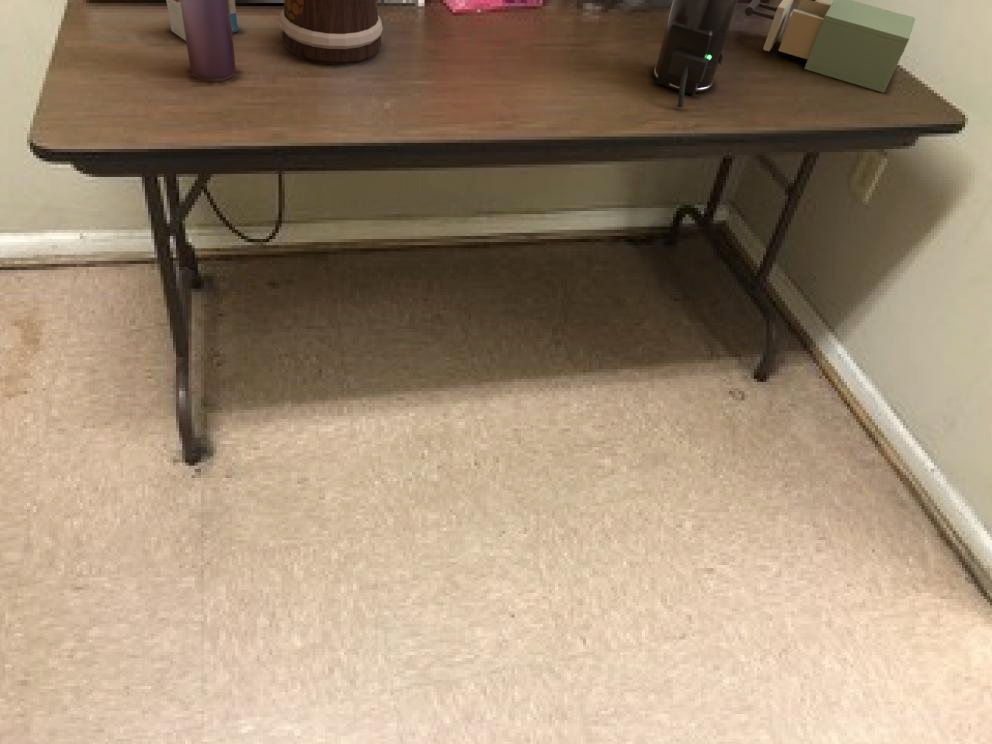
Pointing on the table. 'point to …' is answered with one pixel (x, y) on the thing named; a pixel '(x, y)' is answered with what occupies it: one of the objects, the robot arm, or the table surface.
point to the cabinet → (860, 44)
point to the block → (789, 19)
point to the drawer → (792, 25)
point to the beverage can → (209, 39)
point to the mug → (331, 29)
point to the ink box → (177, 17)
